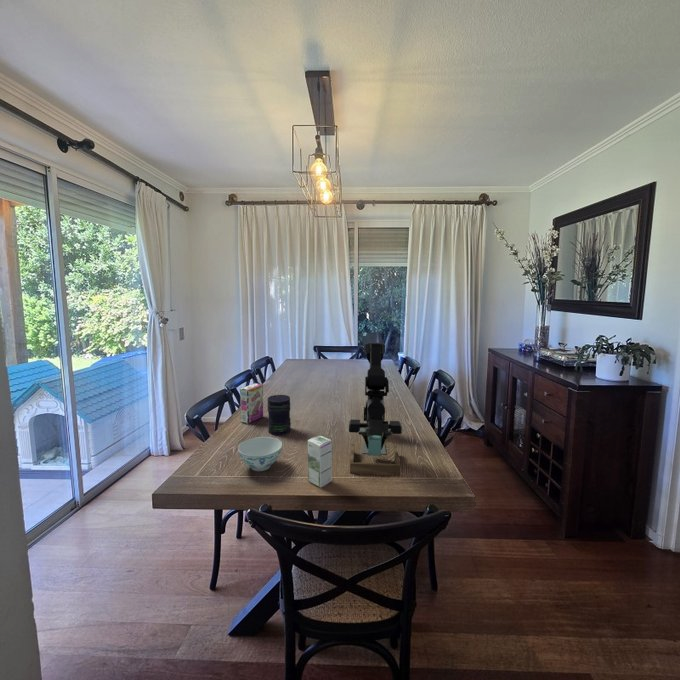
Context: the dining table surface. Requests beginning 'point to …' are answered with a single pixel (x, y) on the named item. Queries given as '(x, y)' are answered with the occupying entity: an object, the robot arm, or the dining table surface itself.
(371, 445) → the teal block
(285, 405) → the storage jar
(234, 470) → the dining table surface
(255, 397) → the candy bar box
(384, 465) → the walnut crate
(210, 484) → the dining table surface
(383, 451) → the grey rubber mat
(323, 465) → the syrup box
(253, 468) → the chinaware
